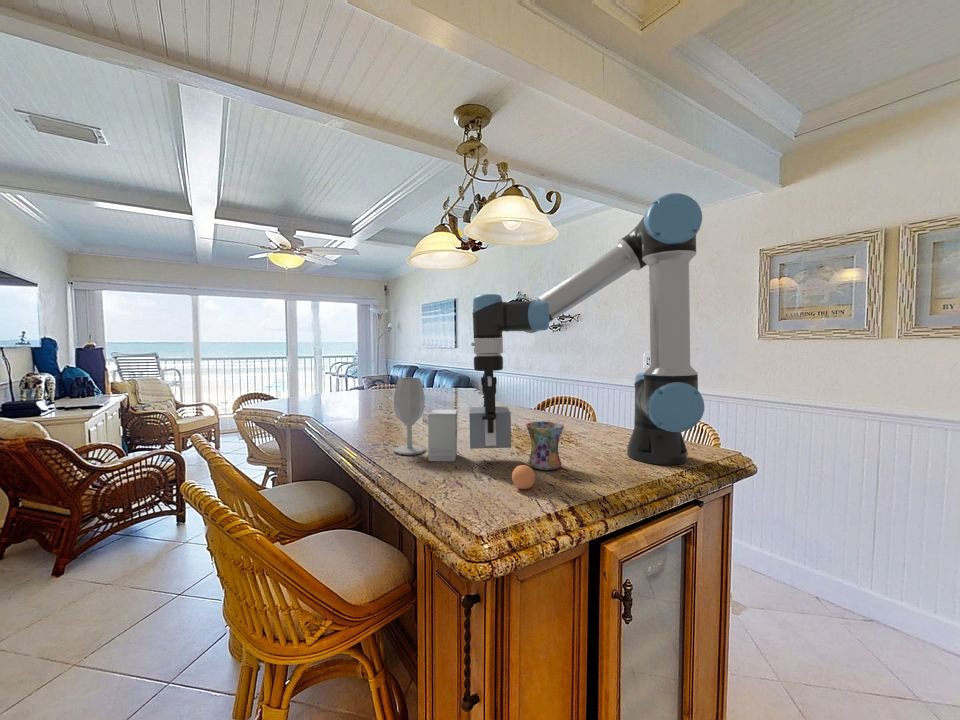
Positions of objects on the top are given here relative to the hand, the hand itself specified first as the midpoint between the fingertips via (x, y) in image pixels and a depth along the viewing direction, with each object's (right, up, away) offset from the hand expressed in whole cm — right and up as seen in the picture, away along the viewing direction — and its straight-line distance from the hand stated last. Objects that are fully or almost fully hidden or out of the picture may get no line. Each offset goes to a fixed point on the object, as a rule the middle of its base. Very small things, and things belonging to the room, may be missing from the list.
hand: (489, 440), depth 109 cm
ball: (+7, -4, -20) cm, 21 cm away
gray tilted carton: (0, -1, 0) cm, 1 cm away
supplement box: (-13, -6, +4) cm, 14 cm away
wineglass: (-23, -5, +10) cm, 25 cm away
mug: (+14, -6, -2) cm, 15 cm away
